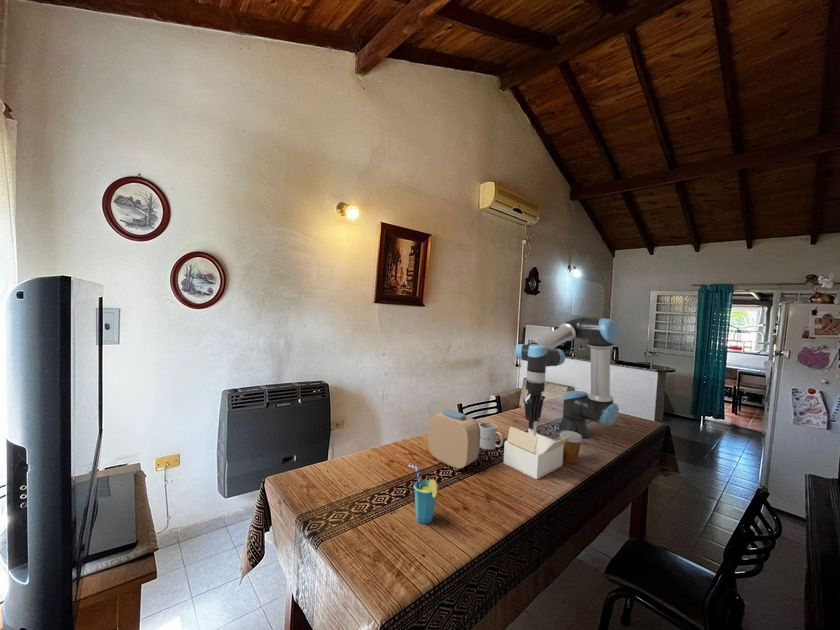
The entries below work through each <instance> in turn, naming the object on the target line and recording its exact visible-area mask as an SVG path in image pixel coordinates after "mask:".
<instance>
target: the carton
mask: <svg viewBox="0 0 840 630" xmlns="http://www.w3.org/2000/svg"><path fill="white" fill-rule="evenodd" d="M525 432H526V433H528V432H527V431H525ZM536 436H537V437H538V439H537V444H536V449H535V453H533V452H531V451H528V450H526V449H524V448H521V447H519V446H517V445H514V444H512V443H510V442H507V440H505V441H504V444H503V445H504V447H503V464H504V465H506V466H507V467H510V468H512V469H514V470H516V471H519V472H520V473H522V474H524V475H526V476H528V477H530V478H532V479H534V480H536V481H537V480H539V479H540V478H543V477H545V476H547V475H548V474H551V472H554V471H556V470H558V469H560V468H561V467H563V462H564V461H563V448H564V444H563V445H562V446H559V447H557V448H555V449H553V450H551V451H548V452H546V453H544V454H543V452H544V451H545V450H546V449H547V448H548V447H549V446H550V445H551V444H552V443H553V442H556V441H557V440H555V439H553V438H551V437H547V436H544V435H542V434H540V433H538V432H536Z"/></svg>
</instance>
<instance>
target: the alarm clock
mask: <svg viewBox="0 0 840 630" xmlns="http://www.w3.org/2000/svg"><path fill="white" fill-rule="evenodd" d="M429 419H430V420H429V422H428V436H427V437H428V440H427V444H428V445H427V446H428V450H429V452H430V454H431V455H432V456H433V457H434V458H435V459H436V461H437V462H440V463H442V464H444V465H446V466H448V467H450V466H451V467H450V468H452V467H453V468H452V469H454V468H455V470H456V471H459V469H460V470H461V469H463V468H464V467H467V466H469V465H470V464H471V463H474V462H475V461H476V460H477V459H478V458H479V455H480V449H481V448H480V427H479V423H478V422H477V420H476V419H474V418H473V417H470V416H468V415H466V414H464V413H462V412H459V411H456V410H451V409H445V410H443V411H442V412H441V413H437V414H435V415H433V416H431V418H429Z"/></svg>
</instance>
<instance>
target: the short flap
mask: <svg viewBox="0 0 840 630" xmlns="http://www.w3.org/2000/svg"><path fill="white" fill-rule="evenodd" d="M526 432H527V431H523V430H521V429H518V428H516V427H513V426H510V425H509V430H508V435H507V439H506V441H507V442H510V443H512V444H514V445H517V446H519V447H521V448H524V449H526V450H528V451H531V452H533V453H535V449H536V444H537V439H538V437H537V436H534V435H532V434H529V433H528V432H527V433H526Z"/></svg>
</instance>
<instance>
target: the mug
mask: <svg viewBox="0 0 840 630" xmlns="http://www.w3.org/2000/svg"><path fill="white" fill-rule="evenodd" d="M478 425H479V427H480V447H481V448H480V449H483V450H487V449H488V450H489V451H491V449H492V450H495V449H496V448H501V447H502V445H504V436H503V434H502V433H501V431H498V425H497V424H495V423H493V422H486V421H484V422H480V423H478ZM497 435H499V437H500V444H497Z"/></svg>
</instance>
